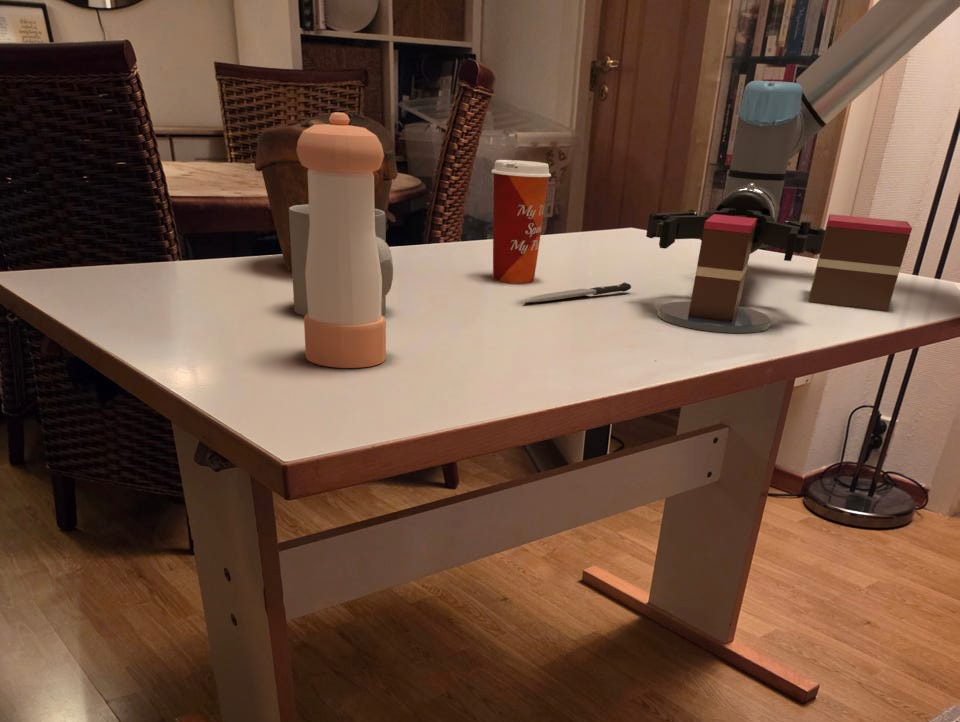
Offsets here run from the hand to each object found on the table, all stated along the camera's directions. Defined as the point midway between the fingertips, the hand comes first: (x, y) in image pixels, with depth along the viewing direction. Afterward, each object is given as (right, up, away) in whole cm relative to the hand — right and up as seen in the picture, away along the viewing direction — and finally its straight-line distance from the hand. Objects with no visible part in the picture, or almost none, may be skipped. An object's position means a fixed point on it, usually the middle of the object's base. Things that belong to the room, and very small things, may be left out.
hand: (726, 241), depth 95 cm
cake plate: (0, -6, +7) cm, 9 cm away
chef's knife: (-15, 0, +14) cm, 21 cm away
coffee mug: (-42, -9, -1) cm, 42 cm away
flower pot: (-47, +6, +21) cm, 52 cm away
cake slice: (0, -5, +7) cm, 9 cm away
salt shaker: (-39, -18, -16) cm, 46 cm away
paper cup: (-23, +5, +23) cm, 32 cm away
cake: (+23, +2, +23) cm, 33 cm away
